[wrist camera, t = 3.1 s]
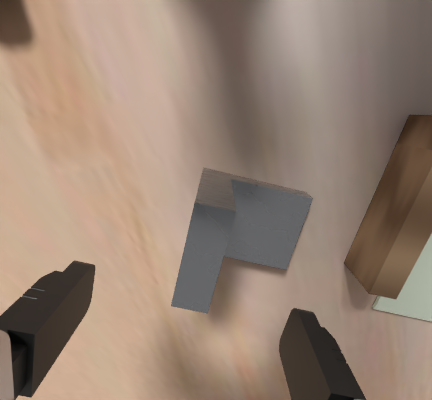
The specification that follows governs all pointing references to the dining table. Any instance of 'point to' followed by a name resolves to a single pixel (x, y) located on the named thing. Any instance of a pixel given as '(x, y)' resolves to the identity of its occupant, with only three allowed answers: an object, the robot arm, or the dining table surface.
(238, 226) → the bracket
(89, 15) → the dining table surface
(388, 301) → the pad
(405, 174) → the wooden corner frame
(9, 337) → the robot arm
